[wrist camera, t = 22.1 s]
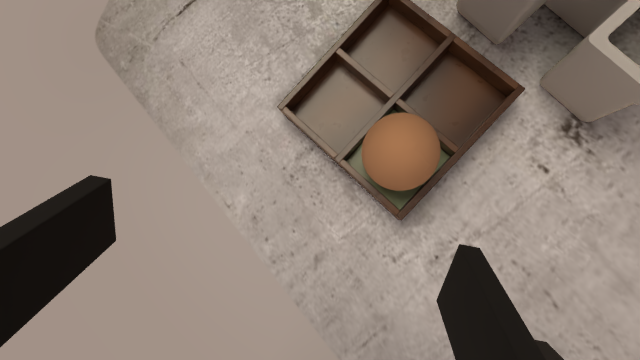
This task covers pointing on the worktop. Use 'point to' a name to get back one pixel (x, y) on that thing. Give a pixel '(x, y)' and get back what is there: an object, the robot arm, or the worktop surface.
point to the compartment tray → (398, 92)
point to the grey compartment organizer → (582, 61)
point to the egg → (400, 151)
